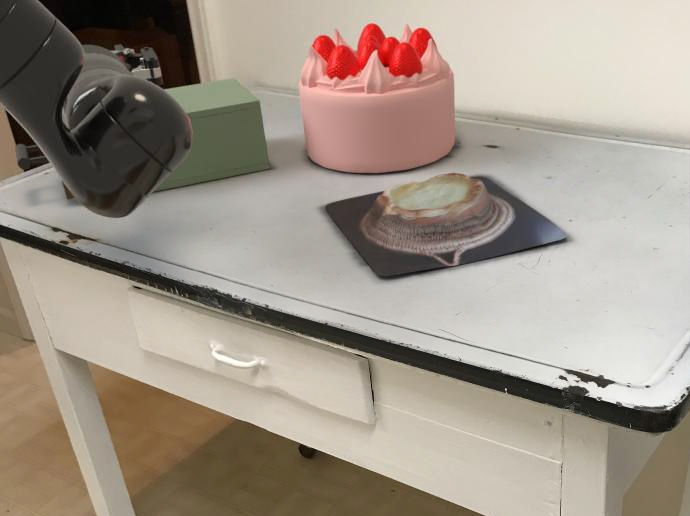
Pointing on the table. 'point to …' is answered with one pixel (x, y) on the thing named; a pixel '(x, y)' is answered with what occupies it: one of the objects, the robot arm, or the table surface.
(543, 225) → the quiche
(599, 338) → the table surface
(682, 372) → the table surface
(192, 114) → the cabinet
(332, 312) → the table surface
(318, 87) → the cake
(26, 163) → the drawer
